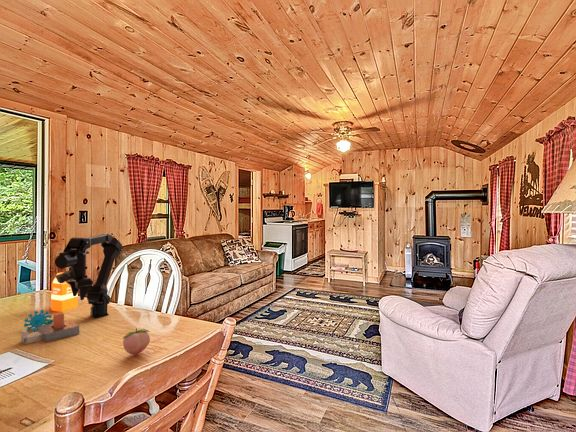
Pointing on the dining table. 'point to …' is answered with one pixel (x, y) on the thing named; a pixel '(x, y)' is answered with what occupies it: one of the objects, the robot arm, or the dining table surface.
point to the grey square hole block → (58, 331)
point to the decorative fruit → (136, 341)
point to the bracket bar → (31, 337)
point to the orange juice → (62, 296)
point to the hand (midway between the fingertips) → (78, 298)
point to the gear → (38, 320)
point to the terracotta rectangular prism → (58, 320)
